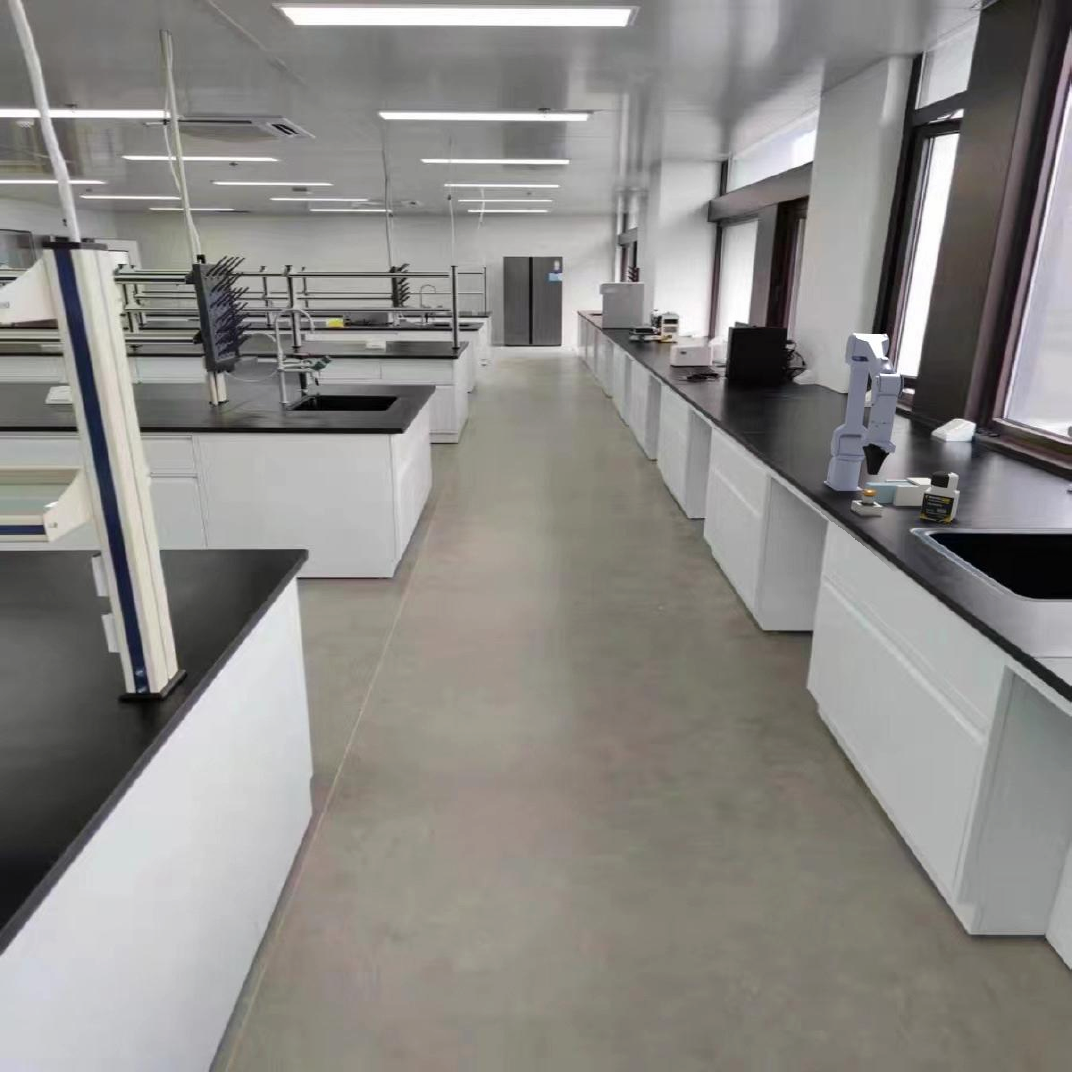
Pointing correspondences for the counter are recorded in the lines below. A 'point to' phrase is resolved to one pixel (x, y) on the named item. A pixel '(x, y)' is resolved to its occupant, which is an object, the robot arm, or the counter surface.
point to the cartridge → (886, 490)
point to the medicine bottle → (941, 497)
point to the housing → (910, 491)
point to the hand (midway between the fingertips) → (872, 474)
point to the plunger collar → (866, 508)
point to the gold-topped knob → (868, 497)
